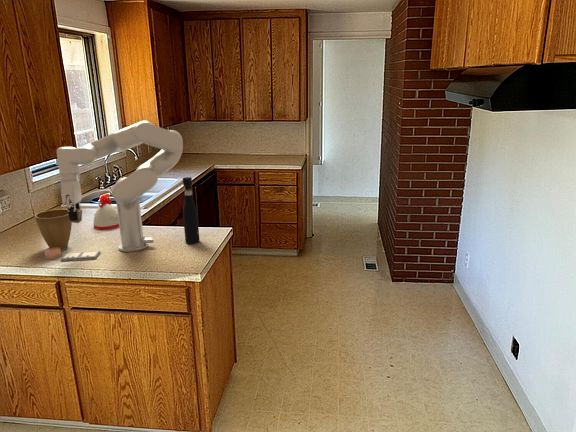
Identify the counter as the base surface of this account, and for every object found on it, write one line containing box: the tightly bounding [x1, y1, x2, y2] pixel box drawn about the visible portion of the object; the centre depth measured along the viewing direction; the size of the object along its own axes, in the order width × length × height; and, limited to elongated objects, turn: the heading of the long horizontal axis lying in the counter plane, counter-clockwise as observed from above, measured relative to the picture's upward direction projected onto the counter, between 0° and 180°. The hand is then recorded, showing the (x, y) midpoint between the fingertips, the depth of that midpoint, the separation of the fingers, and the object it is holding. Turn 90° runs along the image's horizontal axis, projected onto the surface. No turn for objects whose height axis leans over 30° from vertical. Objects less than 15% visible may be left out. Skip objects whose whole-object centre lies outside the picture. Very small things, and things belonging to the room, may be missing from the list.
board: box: [60, 250, 101, 262], centre depth 193 cm, size 14×7×1 cm, turn 98°
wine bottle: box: [182, 176, 200, 245], centre depth 204 cm, size 6×6×30 cm
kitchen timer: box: [92, 196, 119, 231], centre depth 235 cm, size 14×14×15 cm
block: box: [69, 208, 83, 224], centre depth 194 cm, size 4×4×5 cm
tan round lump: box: [44, 247, 62, 261], centre depth 194 cm, size 6×6×4 cm
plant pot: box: [34, 208, 73, 250], centre depth 204 cm, size 15×15×16 cm
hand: (75, 218), depth 194 cm, fingers closed on block, 3 cm apart
